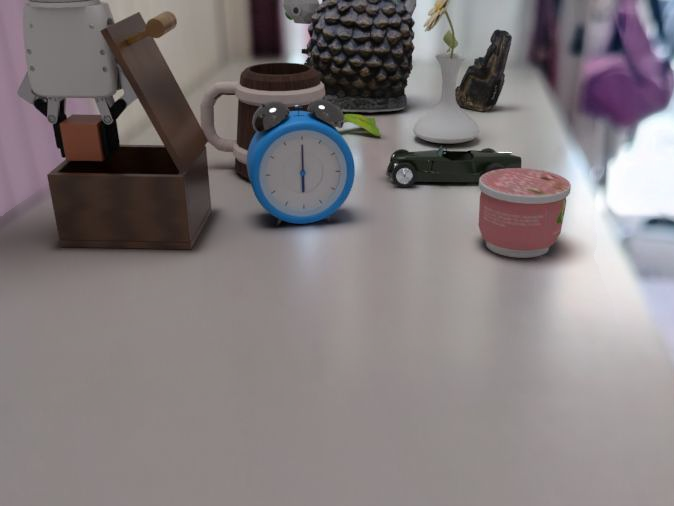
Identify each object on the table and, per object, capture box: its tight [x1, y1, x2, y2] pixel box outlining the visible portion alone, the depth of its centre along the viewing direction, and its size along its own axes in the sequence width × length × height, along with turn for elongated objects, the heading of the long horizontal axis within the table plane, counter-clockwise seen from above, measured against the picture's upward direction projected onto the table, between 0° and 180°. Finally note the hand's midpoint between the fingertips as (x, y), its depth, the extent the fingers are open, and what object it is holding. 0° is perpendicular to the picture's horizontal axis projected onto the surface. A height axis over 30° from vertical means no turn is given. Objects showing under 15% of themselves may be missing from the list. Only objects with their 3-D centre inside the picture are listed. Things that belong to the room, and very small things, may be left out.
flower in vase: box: [412, 0, 481, 145], centre depth 130 cm, size 13×11×25 cm
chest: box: [46, 144, 213, 250], centre depth 99 cm, size 16×13×9 cm
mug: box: [199, 62, 325, 181], centre depth 118 cm, size 20×15×15 cm
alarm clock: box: [247, 99, 356, 226], centre depth 101 cm, size 13×6×15 cm, turn 102°
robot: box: [282, 0, 320, 67], centre depth 179 cm, size 12×15×30 cm
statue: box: [455, 28, 513, 112], centre depth 154 cm, size 6×12×15 cm, turn 46°
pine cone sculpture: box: [306, 0, 417, 113], centre depth 151 cm, size 21×15×25 cm
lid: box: [100, 10, 209, 174], centre depth 92 cm, size 17×13×5 cm
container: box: [478, 167, 572, 259], centre depth 95 cm, size 10×10×8 cm
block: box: [60, 114, 105, 161], centre depth 95 cm, size 4×4×4 cm
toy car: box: [385, 145, 522, 188], centre depth 117 cm, size 9×20×5 cm, turn 90°
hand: (89, 153), depth 96 cm, fingers closed on block, 4 cm apart
